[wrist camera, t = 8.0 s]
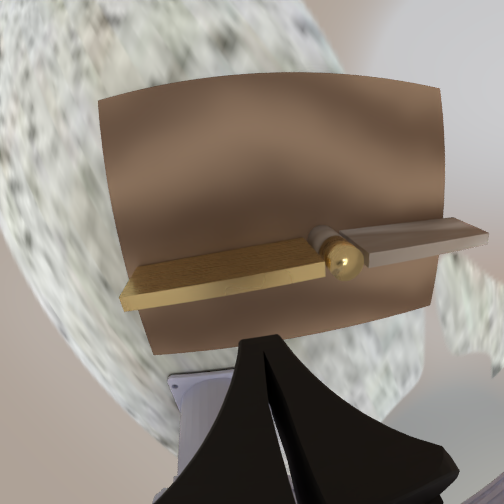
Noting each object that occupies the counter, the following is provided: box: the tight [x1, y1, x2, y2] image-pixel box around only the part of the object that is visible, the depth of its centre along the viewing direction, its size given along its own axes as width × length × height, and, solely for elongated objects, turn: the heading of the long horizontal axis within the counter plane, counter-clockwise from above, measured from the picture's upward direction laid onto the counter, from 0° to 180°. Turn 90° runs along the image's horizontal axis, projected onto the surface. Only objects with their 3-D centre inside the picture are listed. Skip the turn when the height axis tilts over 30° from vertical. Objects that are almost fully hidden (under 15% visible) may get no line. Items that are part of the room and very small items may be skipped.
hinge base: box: [98, 72, 489, 355], centre depth 16 cm, size 17×23×5 cm
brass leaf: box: [119, 236, 364, 312], centre depth 15 cm, size 12×2×4 cm, turn 98°
